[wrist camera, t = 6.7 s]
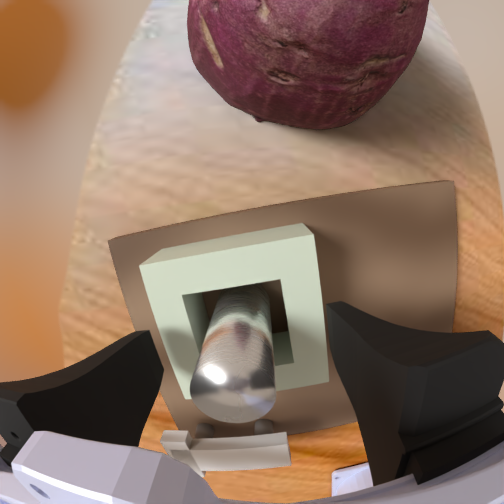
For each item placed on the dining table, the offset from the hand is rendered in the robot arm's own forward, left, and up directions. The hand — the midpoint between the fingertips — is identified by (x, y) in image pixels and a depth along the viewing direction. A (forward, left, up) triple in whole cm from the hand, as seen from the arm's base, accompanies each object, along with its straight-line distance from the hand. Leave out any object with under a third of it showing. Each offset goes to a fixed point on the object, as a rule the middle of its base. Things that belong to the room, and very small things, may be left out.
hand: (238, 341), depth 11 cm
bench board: (-3, -3, -5) cm, 6 cm away
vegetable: (+13, -5, -5) cm, 15 cm away
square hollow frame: (0, 0, -5) cm, 5 cm away
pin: (0, 0, -4) cm, 4 cm away
